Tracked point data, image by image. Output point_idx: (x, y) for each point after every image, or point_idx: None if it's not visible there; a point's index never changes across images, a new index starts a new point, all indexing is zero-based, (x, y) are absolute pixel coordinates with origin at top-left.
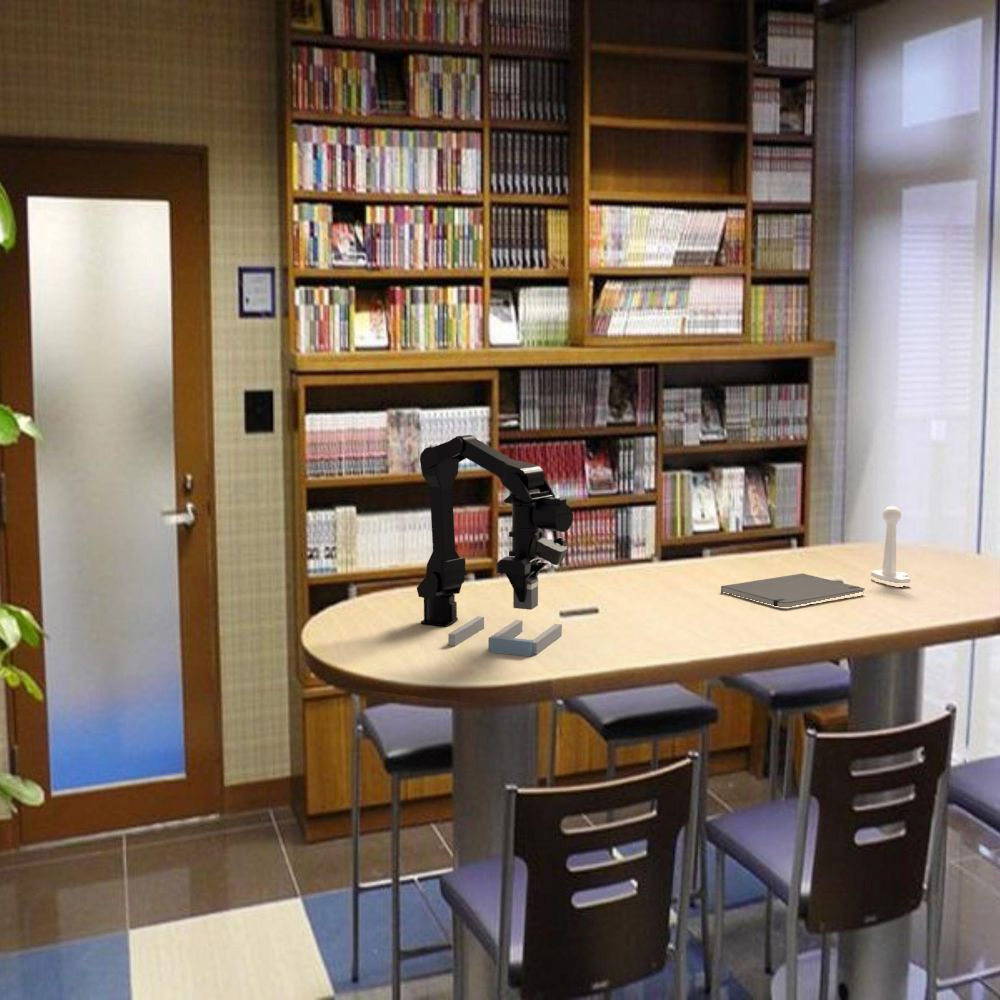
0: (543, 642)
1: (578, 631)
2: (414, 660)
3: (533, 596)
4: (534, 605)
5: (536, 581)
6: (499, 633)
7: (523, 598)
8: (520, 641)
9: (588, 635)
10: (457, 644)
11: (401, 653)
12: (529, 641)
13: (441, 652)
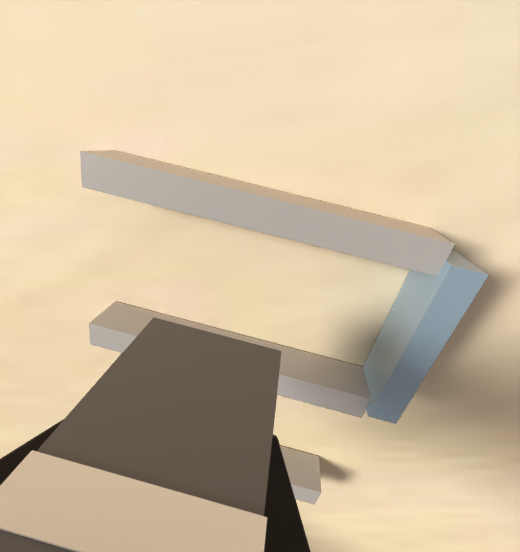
0: (349, 213)
1: (19, 76)
2: (461, 525)
3: (218, 410)
4: (216, 344)
5: (36, 547)
6: (293, 387)
7: (282, 467)
8: (459, 317)
9: (62, 6)
10: (303, 452)
11: (391, 540)
12: (476, 279)
13: (383, 480)
